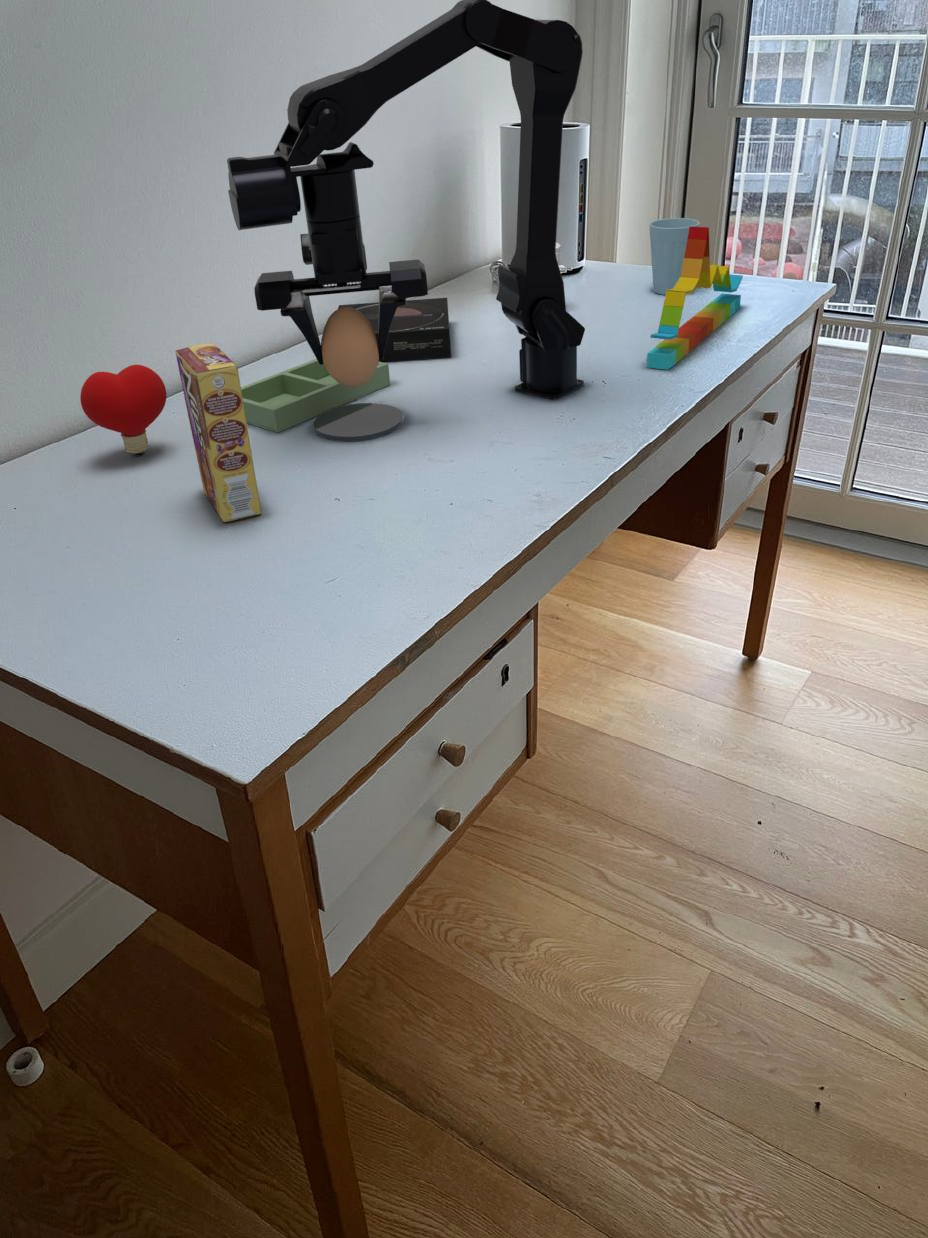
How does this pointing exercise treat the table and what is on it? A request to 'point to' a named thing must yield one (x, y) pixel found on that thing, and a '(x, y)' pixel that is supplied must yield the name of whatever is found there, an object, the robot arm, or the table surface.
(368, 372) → the egg
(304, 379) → the tray
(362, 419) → the coaster
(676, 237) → the cup
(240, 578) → the table surface
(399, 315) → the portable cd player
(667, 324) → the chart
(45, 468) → the table surface
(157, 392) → the light bulb
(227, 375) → the candy box
